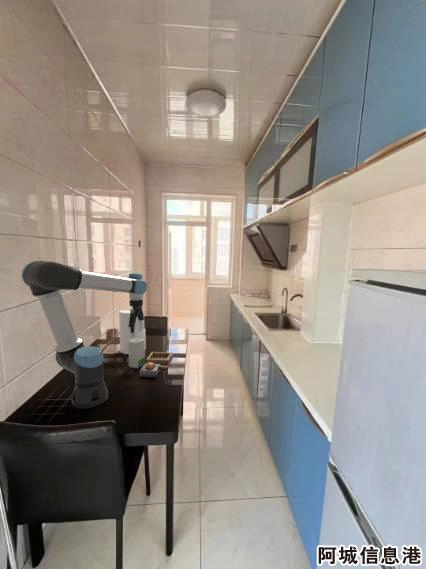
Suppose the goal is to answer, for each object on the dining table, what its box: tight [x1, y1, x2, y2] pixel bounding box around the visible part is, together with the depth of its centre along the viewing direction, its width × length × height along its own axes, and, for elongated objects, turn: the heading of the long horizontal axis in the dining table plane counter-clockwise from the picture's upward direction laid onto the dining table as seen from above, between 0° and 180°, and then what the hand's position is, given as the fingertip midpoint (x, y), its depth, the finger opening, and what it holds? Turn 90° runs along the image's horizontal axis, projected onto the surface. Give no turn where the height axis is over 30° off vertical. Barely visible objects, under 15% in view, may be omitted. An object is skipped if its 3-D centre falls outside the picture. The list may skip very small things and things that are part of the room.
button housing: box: [139, 363, 161, 378], centre depth 144 cm, size 9×9×4 cm
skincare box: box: [128, 338, 146, 369], centre depth 154 cm, size 8×7×16 cm
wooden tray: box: [145, 351, 175, 370], centre depth 160 cm, size 20×14×4 cm
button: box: [147, 362, 154, 369], centre depth 144 cm, size 4×4×4 cm
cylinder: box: [118, 309, 147, 355], centre depth 178 cm, size 17×17×28 cm
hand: (136, 334), depth 153 cm, fingers open, 13 cm apart
